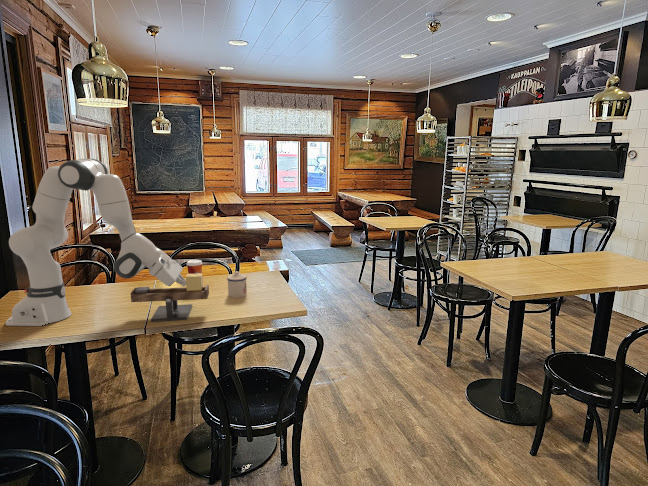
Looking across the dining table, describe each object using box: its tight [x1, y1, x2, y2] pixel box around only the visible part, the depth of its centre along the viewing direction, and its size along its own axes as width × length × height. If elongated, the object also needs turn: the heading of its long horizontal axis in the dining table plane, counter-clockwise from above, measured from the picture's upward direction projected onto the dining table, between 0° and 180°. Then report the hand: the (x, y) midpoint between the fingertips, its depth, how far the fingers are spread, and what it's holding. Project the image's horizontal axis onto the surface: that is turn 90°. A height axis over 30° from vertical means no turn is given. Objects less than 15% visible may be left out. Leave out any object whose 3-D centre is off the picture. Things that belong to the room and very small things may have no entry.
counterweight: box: [135, 286, 151, 294], centre depth 174 cm, size 4×4×3 cm
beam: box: [130, 284, 210, 303], centre depth 176 cm, size 30×7×5 cm, turn 99°
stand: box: [150, 297, 193, 323], centre depth 177 cm, size 14×15×9 cm
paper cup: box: [186, 259, 203, 274], centre depth 211 cm, size 8×8×14 cm
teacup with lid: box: [226, 270, 248, 299], centre depth 202 cm, size 12×9×12 cm
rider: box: [185, 272, 204, 292], centre depth 177 cm, size 6×4×8 cm
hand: (185, 284), depth 176 cm, fingers closed, pressing on rider
